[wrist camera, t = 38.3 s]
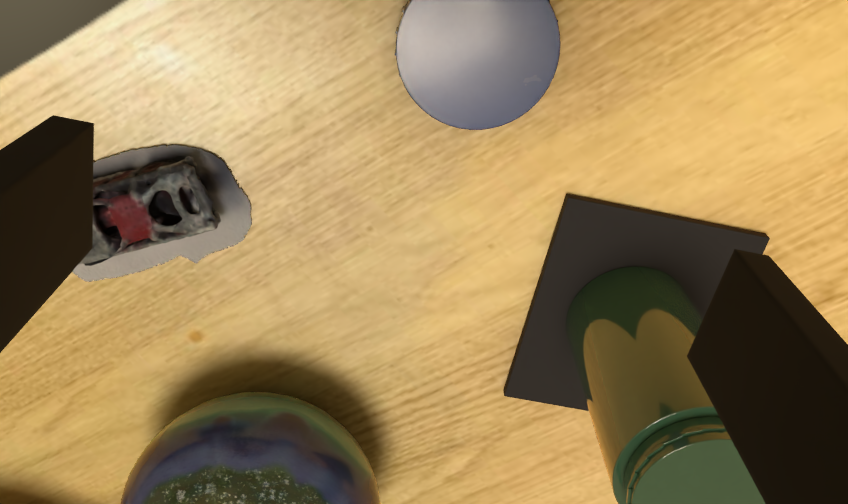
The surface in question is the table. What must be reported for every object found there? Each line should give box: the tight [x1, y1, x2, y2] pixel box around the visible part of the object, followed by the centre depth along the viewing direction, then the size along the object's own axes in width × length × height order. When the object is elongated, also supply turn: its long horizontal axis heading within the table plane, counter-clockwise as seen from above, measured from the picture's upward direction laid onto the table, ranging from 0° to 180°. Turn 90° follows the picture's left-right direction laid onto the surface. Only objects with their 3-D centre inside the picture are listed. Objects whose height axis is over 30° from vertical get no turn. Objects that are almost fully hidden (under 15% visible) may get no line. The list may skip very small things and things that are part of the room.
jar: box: [565, 266, 765, 504], centre depth 39 cm, size 8×8×14 cm
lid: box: [395, 0, 560, 130], centre depth 38 cm, size 8×8×2 cm
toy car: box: [72, 145, 251, 282], centre depth 42 cm, size 8×12×3 cm
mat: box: [504, 194, 770, 411], centre depth 46 cm, size 14×12×1 cm
